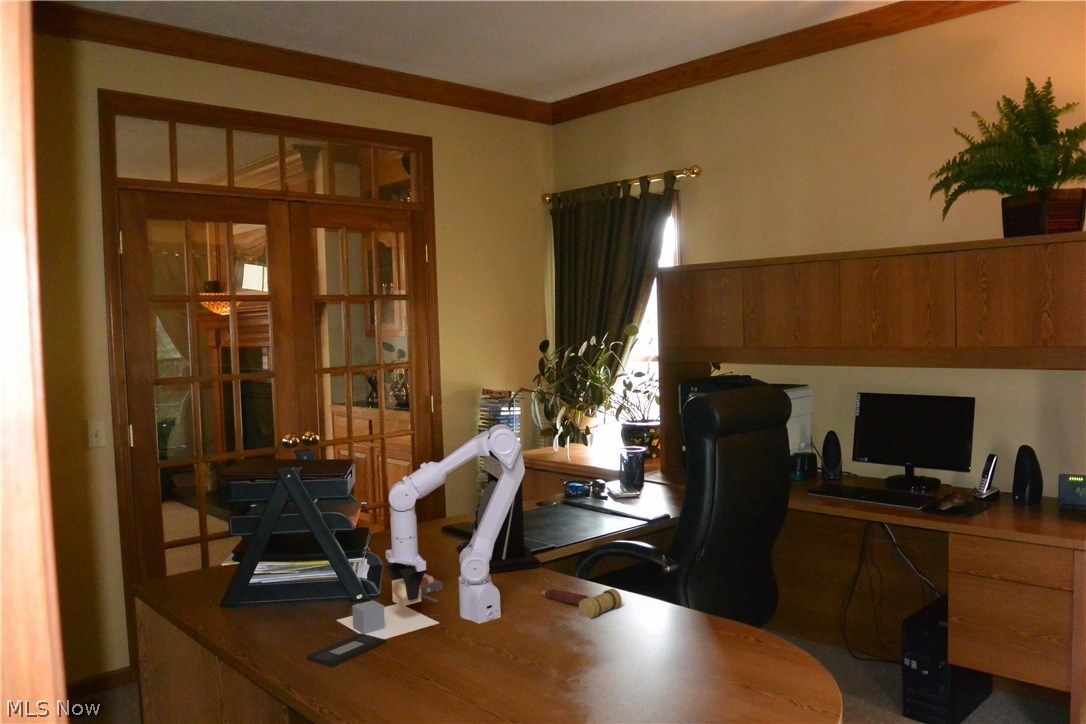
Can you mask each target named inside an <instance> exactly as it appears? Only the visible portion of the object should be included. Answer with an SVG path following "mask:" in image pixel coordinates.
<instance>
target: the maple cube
mask: <svg viewBox="0 0 1086 724" xmlns="http://www.w3.org/2000/svg"><path fill="white" fill-rule="evenodd" d="M391 592H392V602H393V603H395V604H400V605H402V606H406V607H407V606H409V605H411V604H416V603H420V602H422V597H421V585H420V589H419V594H418V598H417V599H414V600H408V597H407V593H406V586H405V582H404V579H403V578H402V579H398V580H394V581H392V580H391Z"/></svg>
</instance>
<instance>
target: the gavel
mask: <svg viewBox="0 0 1086 724" xmlns="http://www.w3.org/2000/svg"><path fill="white" fill-rule="evenodd" d="M541 595H542V596H544V597H545V598H547V599H548V600H550V601H554V600H555V602H560V603H563V602H564V604H569V605H575V606H578V611H579V613H580V616H581V617H582V616H584V617H588V618H592V619H595V618H596V616H597V617H598V616H599V615H601V614H603V613H606V612H608V611H610V610H616V609H618V608H620V607H621V606H622V596H621V593H620V592H619V591H618V589H615V588H608V589H605V590H604V591H603V592H602V593H600V594H597V595H595V596H592V597H591V596H589V595H585V594H581V593H575V592H569V591H564V590H563V591H562V590H557V589H548V590H547V589H546V590H543V591H541ZM584 617H583V618H584ZM594 617H595V618H594ZM588 618H587V619H588Z"/></svg>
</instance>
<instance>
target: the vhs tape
mask: <svg viewBox="0 0 1086 724" xmlns="http://www.w3.org/2000/svg"><path fill="white" fill-rule="evenodd" d="M386 641H387V639H382V638H378V637H374V636H370V635H366V634H362V633H360V634H359V633H357V634H356V635H352V636H349V637H348V638H345V639H343V640H341V641H337V642H336V643H334V644H331V645H329V646H325V647H324V648H321V649H317V650H316V651H314V652H311V653H308V654H306V660H307V661H309V662H312V663H316V664H318V665H323V666H325V667H328V668H334V667H336V666H338V665H341V664H343V663H345V662H348V661H350V660H352V659H355V658H357V657H359V656H361V655H364V654H365V653H367V652H369V651H372V650H374V649H377V648H379V647H381V646H383V645H385V644H387V642H386Z"/></svg>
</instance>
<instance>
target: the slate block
mask: <svg viewBox="0 0 1086 724" xmlns="http://www.w3.org/2000/svg"><path fill="white" fill-rule="evenodd" d="M351 606H352V616H353V628H354V629H356V630H357V631H359V632H361V633H362V634H367V633H370V632H374V631H377V630H381V629H385V620H384V607H385V605H384V604H381V603H379V602H377V601H376V600H369V601H364V602H361V603H358V604H353V605H351Z"/></svg>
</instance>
